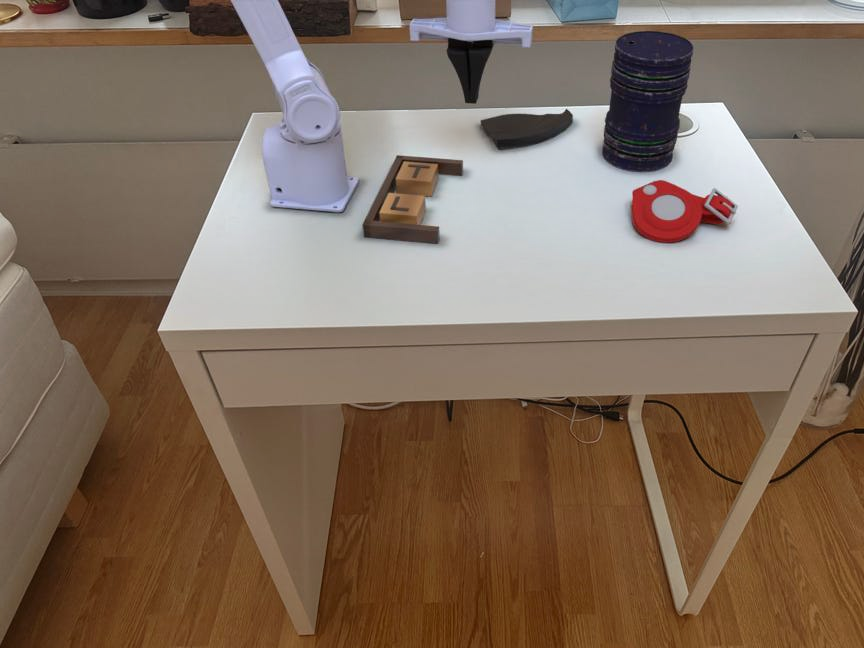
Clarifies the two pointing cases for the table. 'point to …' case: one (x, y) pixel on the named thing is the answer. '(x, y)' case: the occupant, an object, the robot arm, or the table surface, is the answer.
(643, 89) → the dark blue barrel
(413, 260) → the table surface
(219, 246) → the table surface
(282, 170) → the robot arm
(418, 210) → the l tile
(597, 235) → the table surface
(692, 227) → the tracker holder
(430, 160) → the frame
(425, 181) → the t tile
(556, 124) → the dark sector wedge
